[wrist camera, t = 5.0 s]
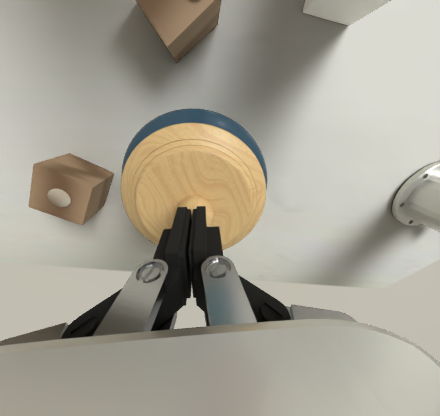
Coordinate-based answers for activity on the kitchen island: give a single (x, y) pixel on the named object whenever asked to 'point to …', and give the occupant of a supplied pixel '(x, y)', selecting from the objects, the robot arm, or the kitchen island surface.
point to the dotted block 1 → (69, 188)
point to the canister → (194, 174)
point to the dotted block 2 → (181, 22)
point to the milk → (342, 9)
